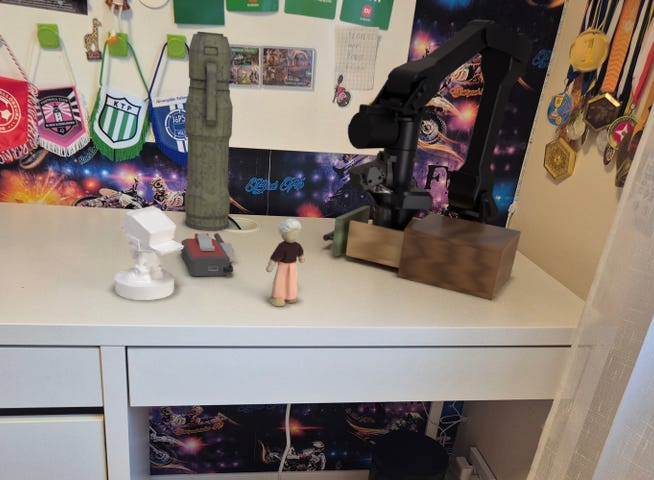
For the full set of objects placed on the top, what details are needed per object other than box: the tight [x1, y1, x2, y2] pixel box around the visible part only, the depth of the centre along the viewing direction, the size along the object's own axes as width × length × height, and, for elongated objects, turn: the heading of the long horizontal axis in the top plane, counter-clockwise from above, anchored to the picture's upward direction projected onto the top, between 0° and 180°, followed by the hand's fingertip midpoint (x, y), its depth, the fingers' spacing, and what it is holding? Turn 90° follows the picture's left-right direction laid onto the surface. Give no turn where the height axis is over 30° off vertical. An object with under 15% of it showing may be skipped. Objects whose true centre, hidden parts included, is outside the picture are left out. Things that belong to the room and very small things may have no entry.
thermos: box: [184, 31, 234, 231], centre depth 123 cm, size 9×12×35 cm
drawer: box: [322, 205, 422, 269], centre depth 118 cm, size 19×13×7 cm
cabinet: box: [397, 212, 522, 301], centre depth 112 cm, size 17×15×9 cm
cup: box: [374, 203, 391, 229], centre depth 117 cm, size 5×5×8 cm
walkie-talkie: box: [180, 232, 235, 278], centre depth 110 cm, size 9×4×20 cm
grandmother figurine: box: [265, 217, 306, 307], centre depth 94 cm, size 8×4×13 cm, turn 148°
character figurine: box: [114, 205, 184, 301], centre depth 93 cm, size 9×10×12 cm
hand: (387, 235), depth 117 cm, fingers closed on cup, 5 cm apart
